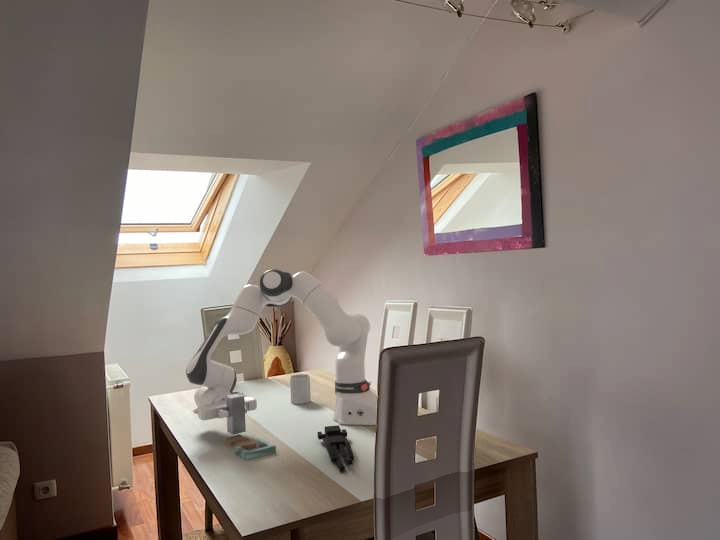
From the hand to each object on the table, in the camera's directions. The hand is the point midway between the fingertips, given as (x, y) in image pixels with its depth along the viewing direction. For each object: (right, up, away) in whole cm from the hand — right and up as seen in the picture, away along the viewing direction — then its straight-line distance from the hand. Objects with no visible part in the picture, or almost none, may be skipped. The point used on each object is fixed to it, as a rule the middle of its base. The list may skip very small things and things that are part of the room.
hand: (237, 412), depth 182 cm
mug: (+15, -9, +53) cm, 56 cm away
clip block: (0, -7, +1) cm, 7 cm away
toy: (+34, -10, -14) cm, 38 cm away
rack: (+4, -10, -5) cm, 12 cm away
